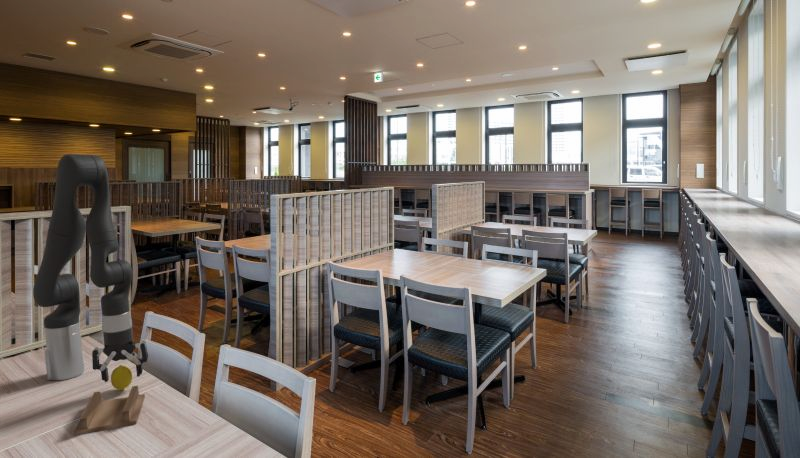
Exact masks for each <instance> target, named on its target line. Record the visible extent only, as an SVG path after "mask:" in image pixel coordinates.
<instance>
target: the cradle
mask: <svg viewBox="0 0 800 458" xmlns="http://www.w3.org/2000/svg"><path fill="white" fill-rule="evenodd" d="M101 394H102V393H101V391H95V392H93V394H92V395H91V398H90V400H88V404H87V405H86V407H85V409H84V410H83V412H82V414H81V416H80V418H79V420H78V422H77V425H76V427H75V428H74V430H73V436H75V435H82V434H87V433H93V432H98V431H104V430H110V429H115V428H121V427H122V428H123V427H127V426H132V425H137V424H138V421H139V417H140V415H141V411H142V408H143V406H144V405H143V404H144V401H145V399H146V395H145V394H140V390H139V385H133V386H132V387H131V389H130V391H129V394H128V396H126V397H120V398H113V399H107V400H102V395H101Z"/></svg>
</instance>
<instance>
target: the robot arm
mask: <svg viewBox="0 0 800 458" xmlns="http://www.w3.org/2000/svg"><path fill="white" fill-rule="evenodd" d="M109 182H110V180H109V174H108V169H107V165H106V162H105V161H104V159H103V158H102V157H100V156H98V155H96V154H77V153H76V154H75V153H71V154H70V153H68V154H64V155H62V156H61V157H60V159H59V161H58V164H57V170H56V179H55V190H54V198H53V205H52V206H53V207H52V212H51V215H50V220H49V224H48V229H47V234H46V240H45V247H44V252H43V255H42V260H41V263H40V265H39V269H38V271H37V275H36V277H35V281H34V283H33V287H32V288H33V289H32V294H33V300H34V302H35V304H36V305H37V306H38V307H41V308H50V307H55V306H57V307H56V309H54V310H53V311H52V312H51V313H49V314H47V315H46V316H45V317H44V318H43V328H44V337H45V338H44V339H45V345H46V346H45V347H46V350H45V351H44V359H45V360H44V361H45V369H46V377H47V378H46V379H47V381H65V380H70V379H72V378H75V377H78V376H80V375H82V374H83V373H84V372H85V363H84V354H83V344H82V343H83V342H82V335H81V325H80V315H81V301H80V300H81V295H80V294H81V293H80V286H79V285H80V284H79V282H78V280H77V278H76V276H74V275H73V274H72V273H63V274H62V273H61V272H62V271H63V270H64V268H65V267H66V265H67V264H68V263H69V262H70V261H71V260H72V259H73V258H74V257H75V256H76V254H78V252H79V251H80V249H81V248H82V246H83V244H84V240H85V235H86V237H87V240H88V243H89V244H88V245H89V247H90V268H89V270H90V271H89V277H90V281H91V282H92V283H93V285H94V286H95V287H98V288H102V289H103V288H108V287H112V286H113V288H112V290H111V291H109V292H107V293H105V294H104V295H102V296H101V298H100V309H101V317H102V318H101V328H102V337H103V344H104V346H103V347H100V348H99V347H94V349H92V353H91V356H92V360H91V361H92V370H94V371H96V370H98V371H100V374H101V375H100V376H101V380H102V381H104V383H108V382H109V369H108V365H110V363H111V361H113V362H118V361H124V360H125V361H126V360H127V359H128V360H130V361H131V362H133V363H134V364H135V368H136V369H135V370H136V377H141V375H142V374H143V364H144V363H147V362H148V359H149V354H148V348H147V342H146V340H143V341H141V342H138V343H136V342H135V340H134V333H133V332H134V331H133V320H132V315H131V310H130V302H129V301H130V300H129V298H130V297H129V296H130V292H131V286H132V281H133V276H134V272H133V267H132V265H131V264H130V262H128V261H127V260H125V259H118V260H114V261H113V260H112V261H108V262H107V257H108V256H109V255H111V254H114V253H115V252H118V251H119V248H120V246H119V241H118V237H117V232H116V230H115V226H114V222H113V221H114V220H113V217H112V216H113V215H112V209H111V208H112V207H111V192H110V183H109ZM78 187H90V188H91V190H92V197H93V199H92V205H91V208H90V211H89V213H88V216H87V218H86V219H87V220H86V219H85V218H84V216H83V214H82V212H81V211H80V209H79V206H78V205H77V202H76V196H77V195H76V194H77V189H78ZM135 349H138V351H140V353H141V357H140V355H139V356H138V354H137V353H136V352H135V351H134V350H135ZM102 354H104V355H105V356H107V358H106V359H105V360H104V361H103V363H100V357H101V356H102Z"/></svg>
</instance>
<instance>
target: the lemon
mask: <svg viewBox="0 0 800 458" xmlns="http://www.w3.org/2000/svg"><path fill="white" fill-rule="evenodd" d="M132 381H133V373H132V370H131V369H130V368H129V367H128V366H126V365H122V364H121V365H118V366H117V367H115V368H114V369H113V370H112V372H111V375H110V383H111V386H112V387H113V389H116V390H120V391H125V389H126V388H128V387H129V386H130V385H131V383H132Z"/></svg>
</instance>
